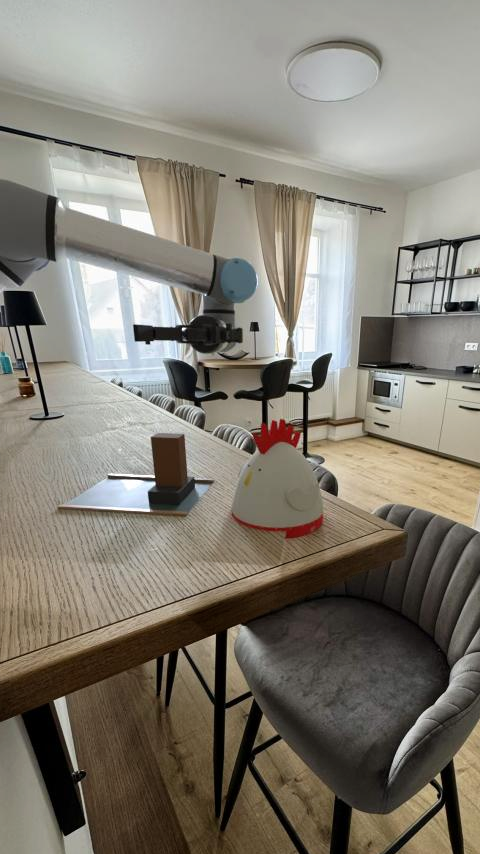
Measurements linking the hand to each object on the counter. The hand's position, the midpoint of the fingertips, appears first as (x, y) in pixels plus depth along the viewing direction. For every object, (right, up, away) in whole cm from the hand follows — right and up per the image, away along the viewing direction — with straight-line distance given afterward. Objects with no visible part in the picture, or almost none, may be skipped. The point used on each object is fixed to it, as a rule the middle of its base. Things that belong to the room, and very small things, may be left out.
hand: (174, 333), depth 69 cm
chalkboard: (-5, -28, 0) cm, 29 cm away
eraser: (0, -27, -1) cm, 27 cm away
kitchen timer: (+17, -31, -6) cm, 36 cm away
